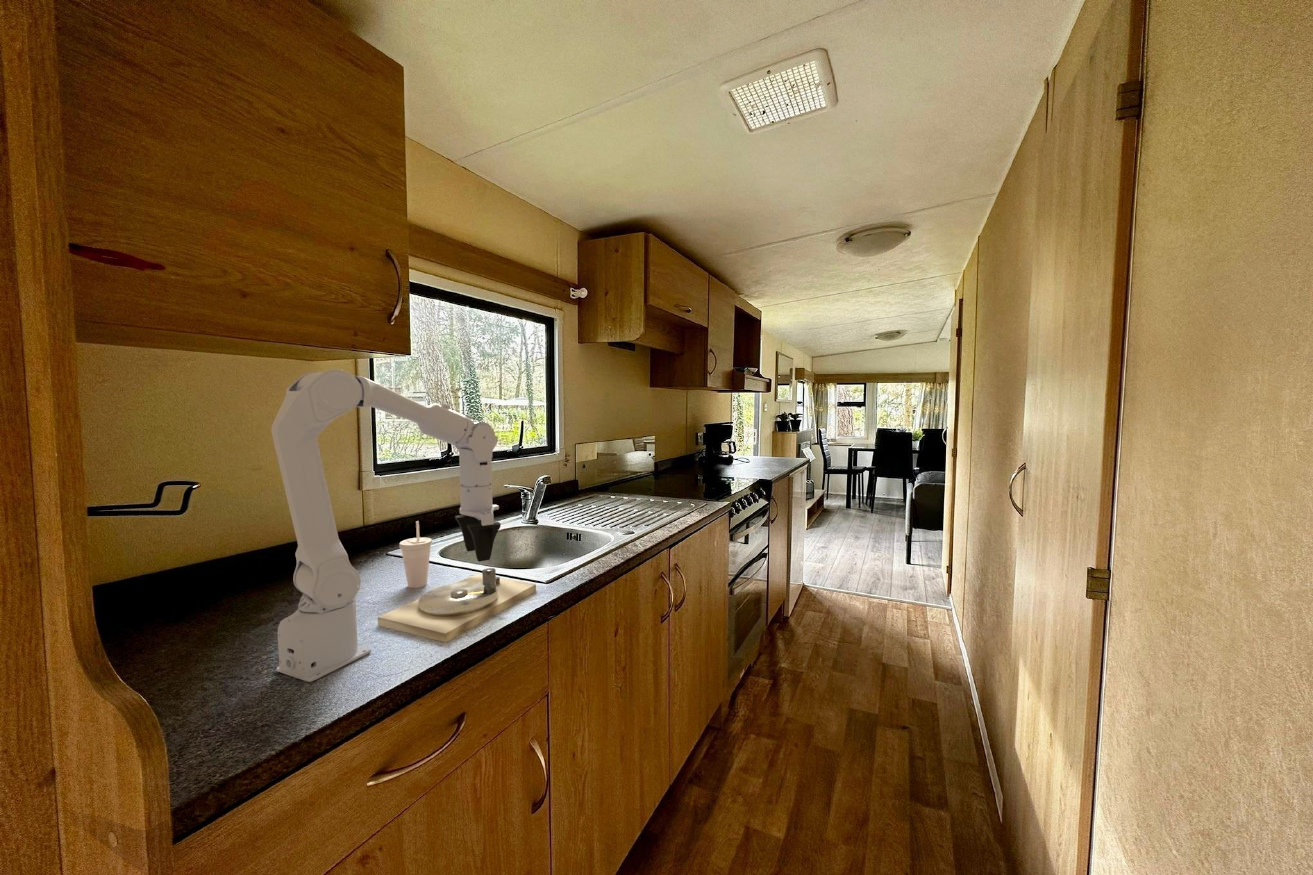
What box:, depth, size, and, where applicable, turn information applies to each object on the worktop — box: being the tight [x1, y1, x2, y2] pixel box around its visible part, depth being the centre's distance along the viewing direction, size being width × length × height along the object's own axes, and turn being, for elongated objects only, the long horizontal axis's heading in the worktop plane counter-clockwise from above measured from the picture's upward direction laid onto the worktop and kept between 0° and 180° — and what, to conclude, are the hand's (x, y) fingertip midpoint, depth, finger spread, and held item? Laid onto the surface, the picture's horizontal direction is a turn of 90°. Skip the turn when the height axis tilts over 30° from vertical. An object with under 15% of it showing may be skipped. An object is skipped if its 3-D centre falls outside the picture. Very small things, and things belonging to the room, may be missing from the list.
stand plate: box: [377, 573, 537, 643], centre depth 95 cm, size 24×16×3 cm, turn 157°
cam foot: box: [418, 567, 498, 616], centre depth 94 cm, size 14×14×5 cm
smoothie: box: [399, 520, 433, 589], centre depth 106 cm, size 6×6×14 cm
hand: (478, 555), depth 94 cm, fingers open, 7 cm apart
